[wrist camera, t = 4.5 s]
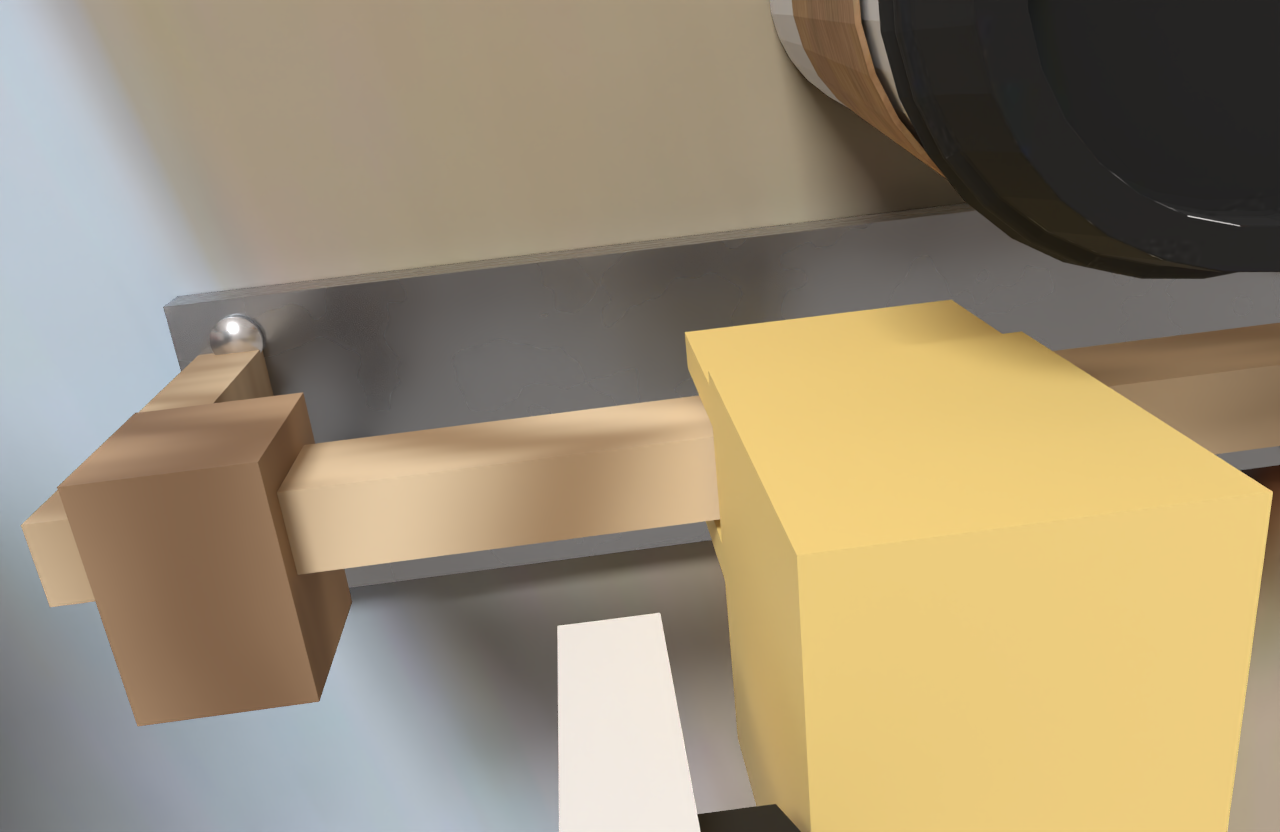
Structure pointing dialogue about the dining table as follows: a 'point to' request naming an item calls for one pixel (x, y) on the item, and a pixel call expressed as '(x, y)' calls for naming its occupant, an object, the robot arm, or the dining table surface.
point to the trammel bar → (428, 505)
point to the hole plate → (658, 329)
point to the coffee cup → (1075, 117)
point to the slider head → (972, 582)
